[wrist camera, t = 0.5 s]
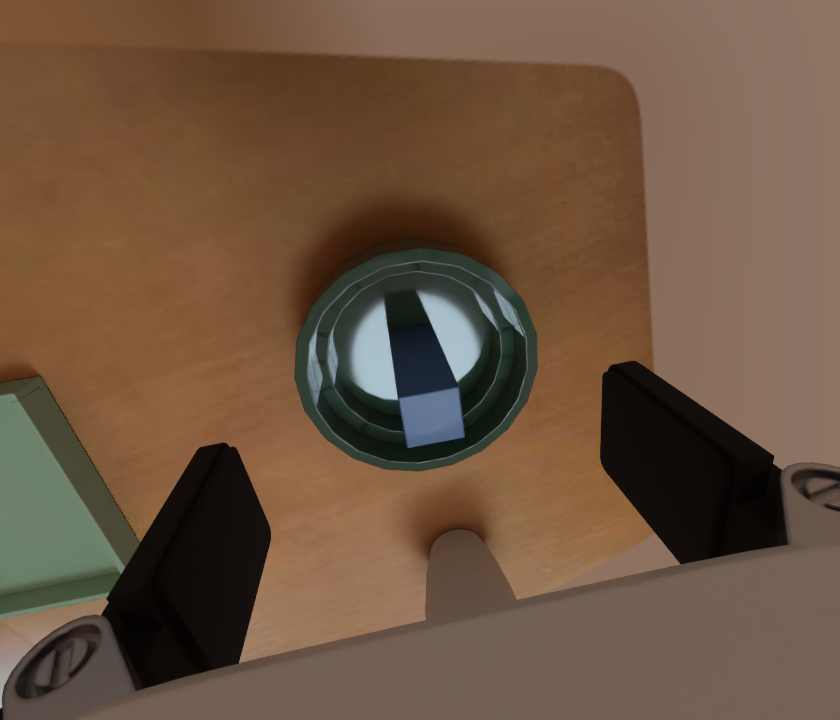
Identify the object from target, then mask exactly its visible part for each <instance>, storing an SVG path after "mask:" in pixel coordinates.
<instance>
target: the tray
mask: <svg viewBox="0 0 840 720" xmlns="http://www.w3.org/2000/svg"><path fill="white" fill-rule="evenodd" d="M139 544H140V543H139V541H138V540H137V538H136V536H135V534H134V533H133V531H132V529H131V528H130V526H129V524H128V523H127V521H126V519H125V518H124V516H123V514H122V513H121V511H120V509H119V508H118V506H117V504H116V503H115V501H114V499H113V498H112V496H111V494H110V492H109V491H108V489H107V487H106V486H105V484H104V482H103V481H102V479H101V477H100V476H99V474H98V472H97V471H96V469H95V467H94V466H93V464H92V462H91V461H90V459H89V457H88V455H87V454H86V452H85V450H84V449H83V447H82V445H81V444H80V442H79V440H78V439H77V437H76V435H75V434H74V432H73V430H72V429H71V427H70V425H69V424H68V422H67V420H66V419H65V417H64V415H63V413H62V412H61V410H60V408H59V407H58V405H57V403H56V402H55V400H54V398H53V397H52V395H51V393H50V392H49V390H48V388H47V387H46V385H45V383H44V382H43V380H42V378H41V377H40V376H39V377H33V378H28V379H22V380H16V381H10V382H5V383H0V619H5V618H10V617H15V616H20V615H25V614H30V613H35V612H40V611H45V610H50V609H55V608H60V607H64V606H69V605H74V604H79V603H84V602H89V601H94V600H99V599H104V598H107V596H108V595H109V593H110V591H111V590H112V588H113V587H114V585H115V583H116V582H117V580H118V578H119V577H120V575H121V574H122V572H123V570H124V569H125V567H126V565H127V564H128V562H129V561H130V559H131V557H132V556H133V554H134V552H135V551H136V549H137V547H138V546H139Z"/></svg>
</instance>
